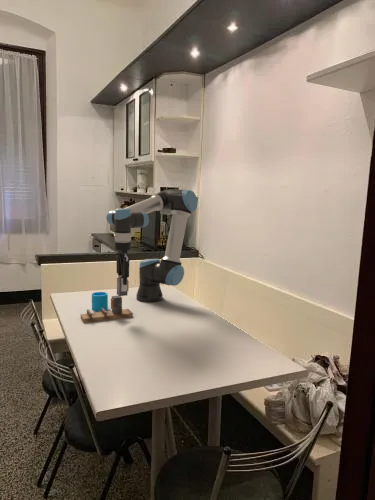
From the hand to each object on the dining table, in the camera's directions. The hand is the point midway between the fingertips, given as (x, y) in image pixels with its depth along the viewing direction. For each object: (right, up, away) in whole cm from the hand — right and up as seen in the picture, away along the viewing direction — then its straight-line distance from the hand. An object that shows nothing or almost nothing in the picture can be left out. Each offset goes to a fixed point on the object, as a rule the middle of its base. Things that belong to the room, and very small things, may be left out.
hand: (122, 289), depth 187 cm
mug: (-16, -12, +20) cm, 28 cm away
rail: (-8, -14, +4) cm, 17 cm away
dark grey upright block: (0, -2, 0) cm, 2 cm away
